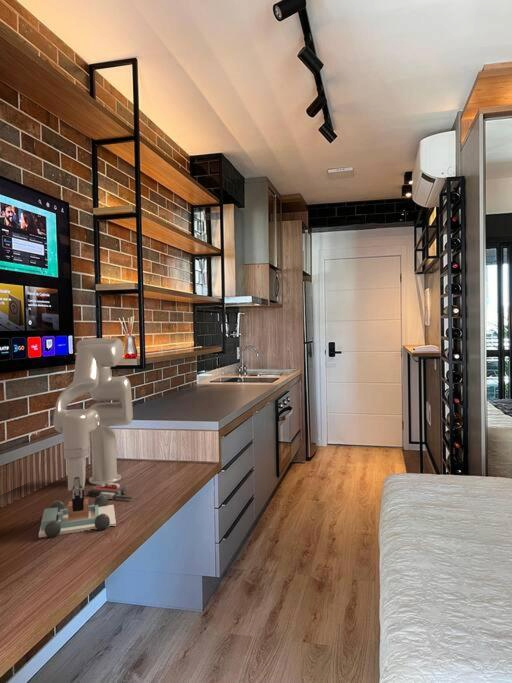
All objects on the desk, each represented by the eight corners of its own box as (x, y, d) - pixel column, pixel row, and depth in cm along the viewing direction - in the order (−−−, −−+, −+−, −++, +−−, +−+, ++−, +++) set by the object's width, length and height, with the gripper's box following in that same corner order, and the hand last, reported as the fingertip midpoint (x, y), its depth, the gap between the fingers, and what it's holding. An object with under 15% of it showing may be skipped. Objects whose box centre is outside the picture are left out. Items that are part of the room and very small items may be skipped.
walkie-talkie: (83, 498, 183) (130, 503, 176) (83, 486, 183) (130, 490, 176) (98, 490, 191) (144, 495, 184) (98, 479, 191) (143, 483, 184)
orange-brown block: (69, 516, 160) (68, 501, 160) (88, 514, 162) (88, 498, 162) (68, 522, 156) (67, 506, 156) (88, 519, 158) (88, 503, 157)
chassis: (44, 515, 165) (44, 502, 165) (113, 506, 172) (113, 493, 172) (38, 539, 146) (37, 524, 146) (116, 528, 153) (115, 513, 152)
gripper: (65, 447, 166) (67, 498, 166) (62, 460, 149) (64, 516, 150) (89, 445, 168) (91, 495, 168) (88, 457, 152) (90, 513, 152)
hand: (78, 505), depth 159 cm, fingers open, 9 cm apart
